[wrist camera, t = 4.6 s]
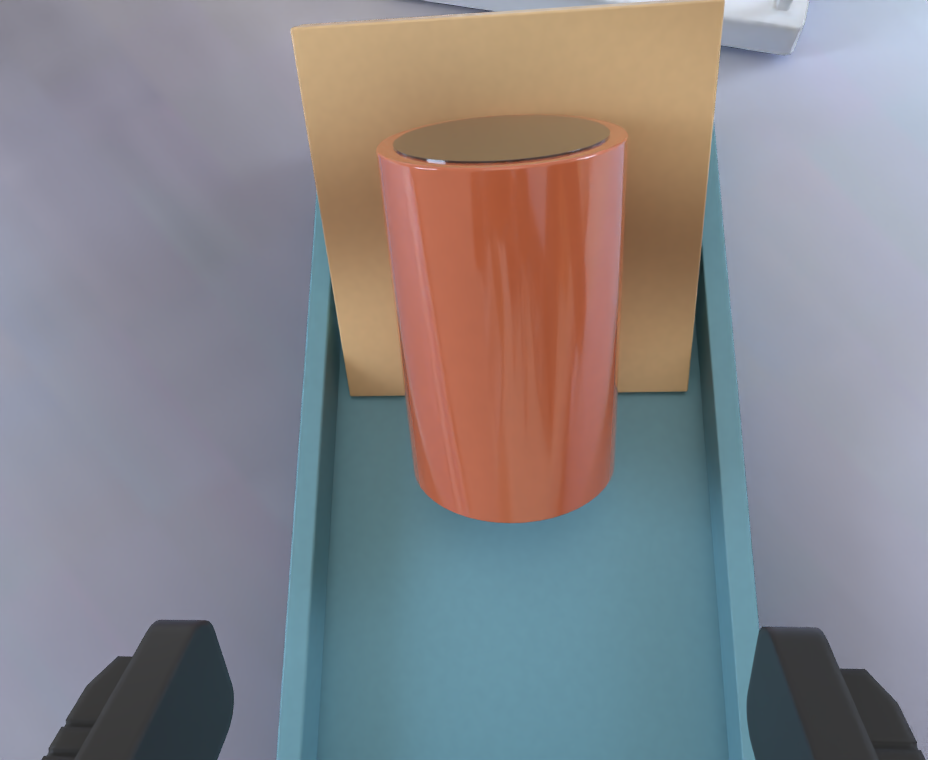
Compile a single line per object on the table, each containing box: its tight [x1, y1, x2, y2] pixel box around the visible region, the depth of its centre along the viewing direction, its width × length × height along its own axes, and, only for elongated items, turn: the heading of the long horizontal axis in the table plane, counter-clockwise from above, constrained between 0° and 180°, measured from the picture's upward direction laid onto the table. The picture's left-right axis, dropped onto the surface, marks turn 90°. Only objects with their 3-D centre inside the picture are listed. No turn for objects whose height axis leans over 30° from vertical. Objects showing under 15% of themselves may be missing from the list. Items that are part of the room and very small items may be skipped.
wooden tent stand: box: [291, 0, 725, 396], centre depth 24 cm, size 10×12×9 cm
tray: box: [276, 121, 759, 760], centre depth 26 cm, size 26×15×3 cm, turn 179°
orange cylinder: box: [376, 114, 629, 523], centre depth 21 cm, size 12×6×12 cm, turn 179°
